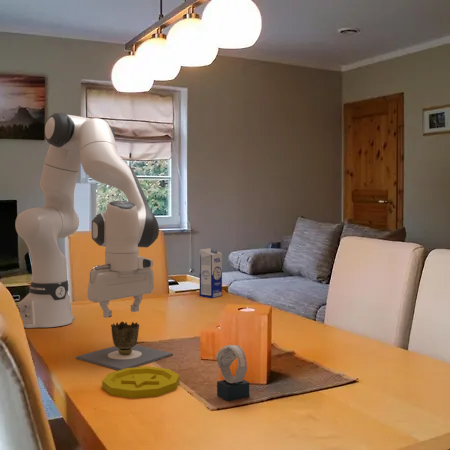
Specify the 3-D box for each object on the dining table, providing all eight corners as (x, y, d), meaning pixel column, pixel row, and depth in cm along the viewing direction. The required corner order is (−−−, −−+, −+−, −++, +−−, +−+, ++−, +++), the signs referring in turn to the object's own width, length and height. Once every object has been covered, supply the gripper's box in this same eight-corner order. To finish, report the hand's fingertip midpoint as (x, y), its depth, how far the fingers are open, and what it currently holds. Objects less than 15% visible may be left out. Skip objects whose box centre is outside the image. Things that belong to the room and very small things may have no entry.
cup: (143, 351, 162) (143, 322, 162) (133, 358, 155) (133, 327, 154) (117, 349, 164) (117, 320, 163) (106, 356, 156) (106, 326, 156)
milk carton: (209, 294, 254) (209, 247, 253) (222, 295, 250) (222, 248, 249) (199, 296, 248) (199, 249, 247) (212, 298, 244) (212, 249, 243)
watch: (233, 388, 134) (233, 340, 133) (253, 399, 127) (254, 348, 126) (212, 393, 131) (211, 343, 130) (231, 404, 124) (231, 352, 123)
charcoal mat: (76, 358, 157) (76, 356, 157) (127, 344, 171) (127, 342, 171) (122, 371, 146) (122, 368, 146) (172, 355, 160) (172, 352, 160)
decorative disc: (87, 388, 135) (87, 379, 135) (145, 370, 148) (145, 362, 148) (136, 405, 124) (136, 396, 124) (194, 384, 138) (194, 376, 137)
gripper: (98, 267, 147) (97, 322, 148) (157, 260, 163) (157, 310, 164) (82, 265, 151) (82, 318, 152) (141, 258, 167) (141, 306, 168)
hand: (121, 314), depth 158 cm, fingers open, 8 cm apart
